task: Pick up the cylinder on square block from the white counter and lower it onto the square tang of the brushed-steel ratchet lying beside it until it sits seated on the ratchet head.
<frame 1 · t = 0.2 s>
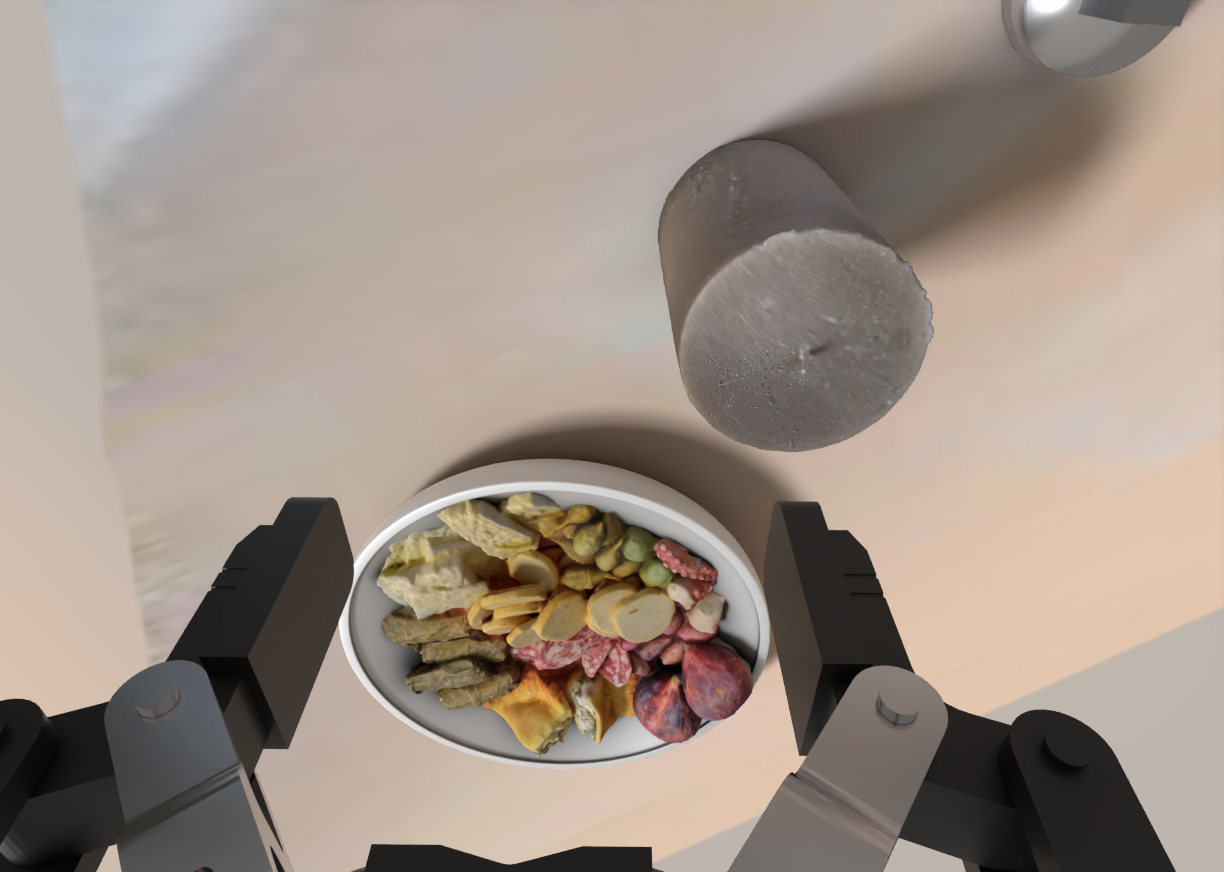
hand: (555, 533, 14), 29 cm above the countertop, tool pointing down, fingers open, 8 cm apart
pillar candle: (750, 228, 40), on the countertop
bowl: (560, 594, 56), on the countertop
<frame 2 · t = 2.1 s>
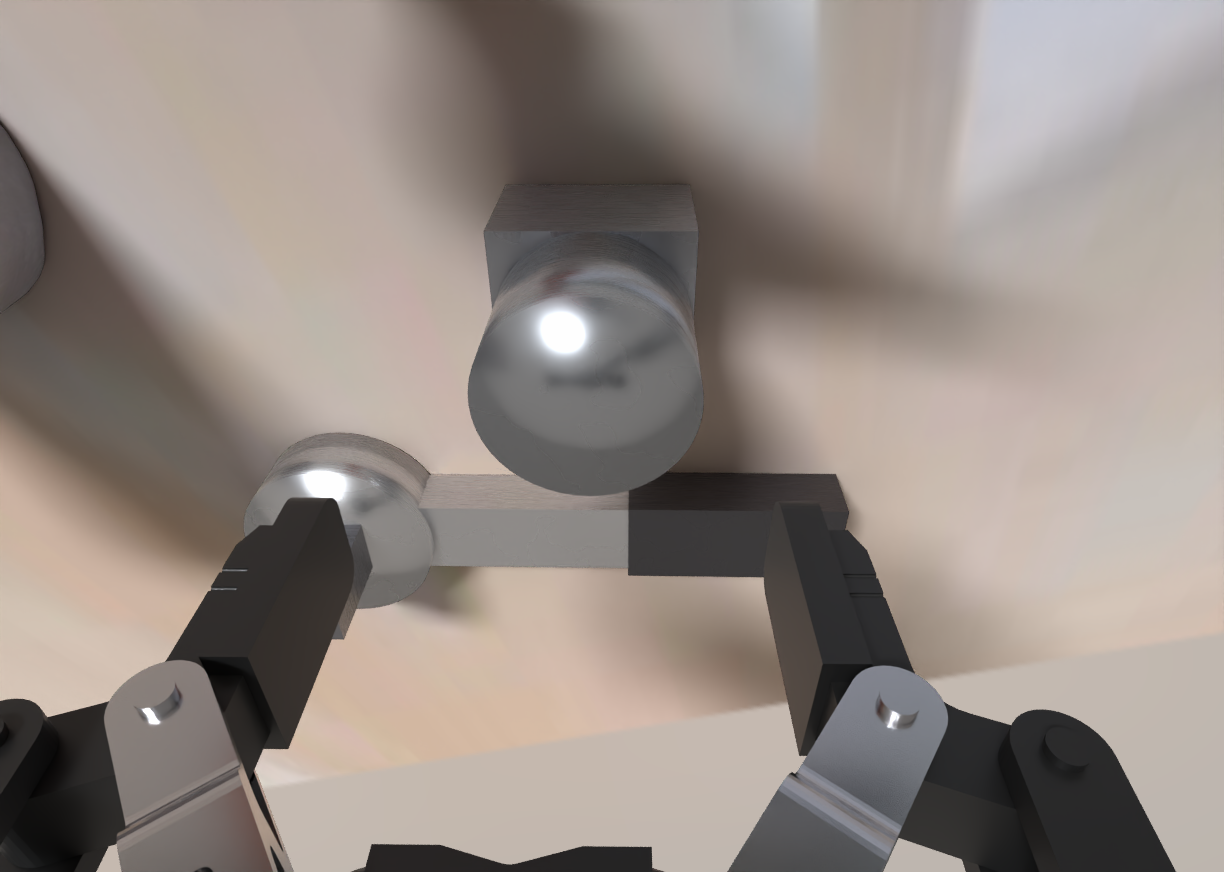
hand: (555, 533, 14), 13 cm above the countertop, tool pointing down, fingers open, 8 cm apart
cylinder on square block: (599, 271, 24), on the countertop
ratchet: (358, 503, 30), on the countertop
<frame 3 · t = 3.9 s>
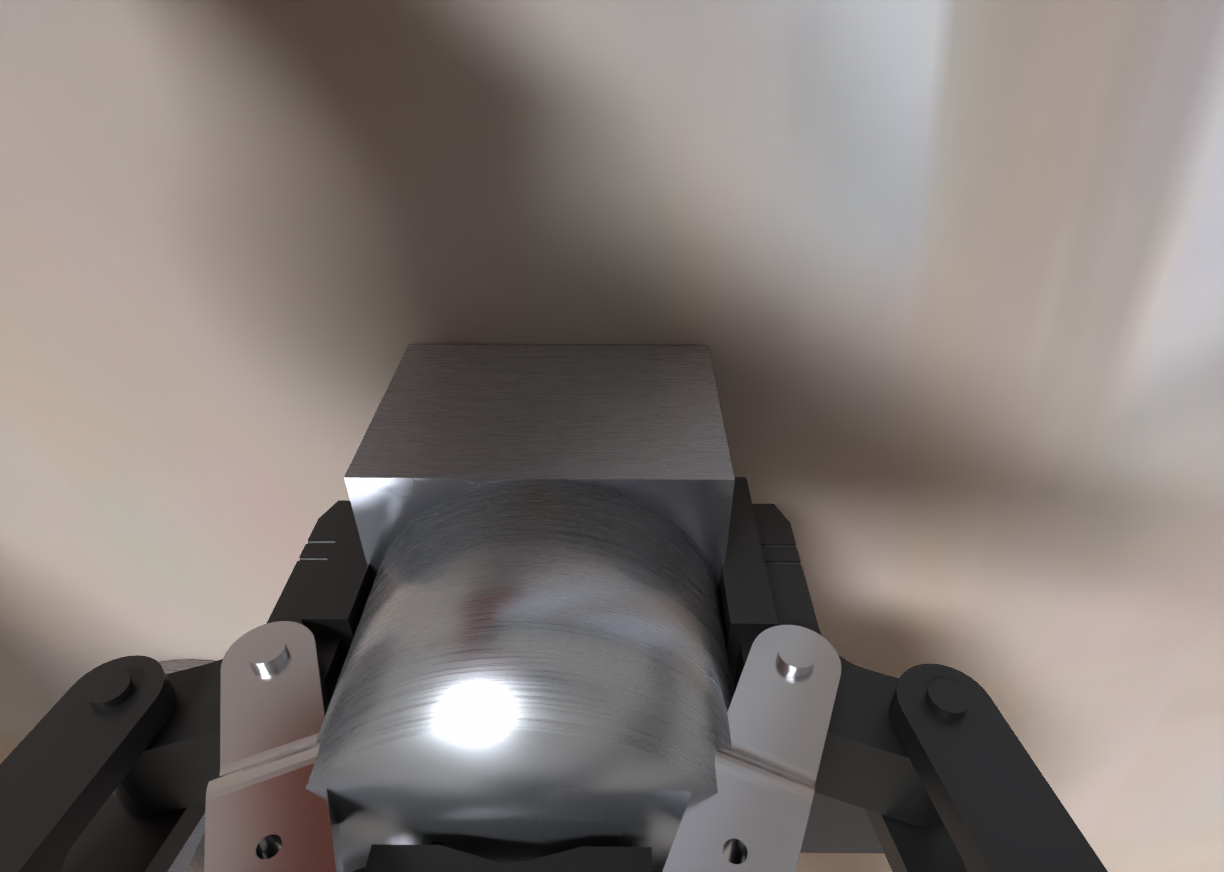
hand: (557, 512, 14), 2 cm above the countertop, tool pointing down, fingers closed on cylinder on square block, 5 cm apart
cylinder on square block: (564, 463, 16), on the countertop, touching gripper
ratchet: (229, 737, 21), on the countertop
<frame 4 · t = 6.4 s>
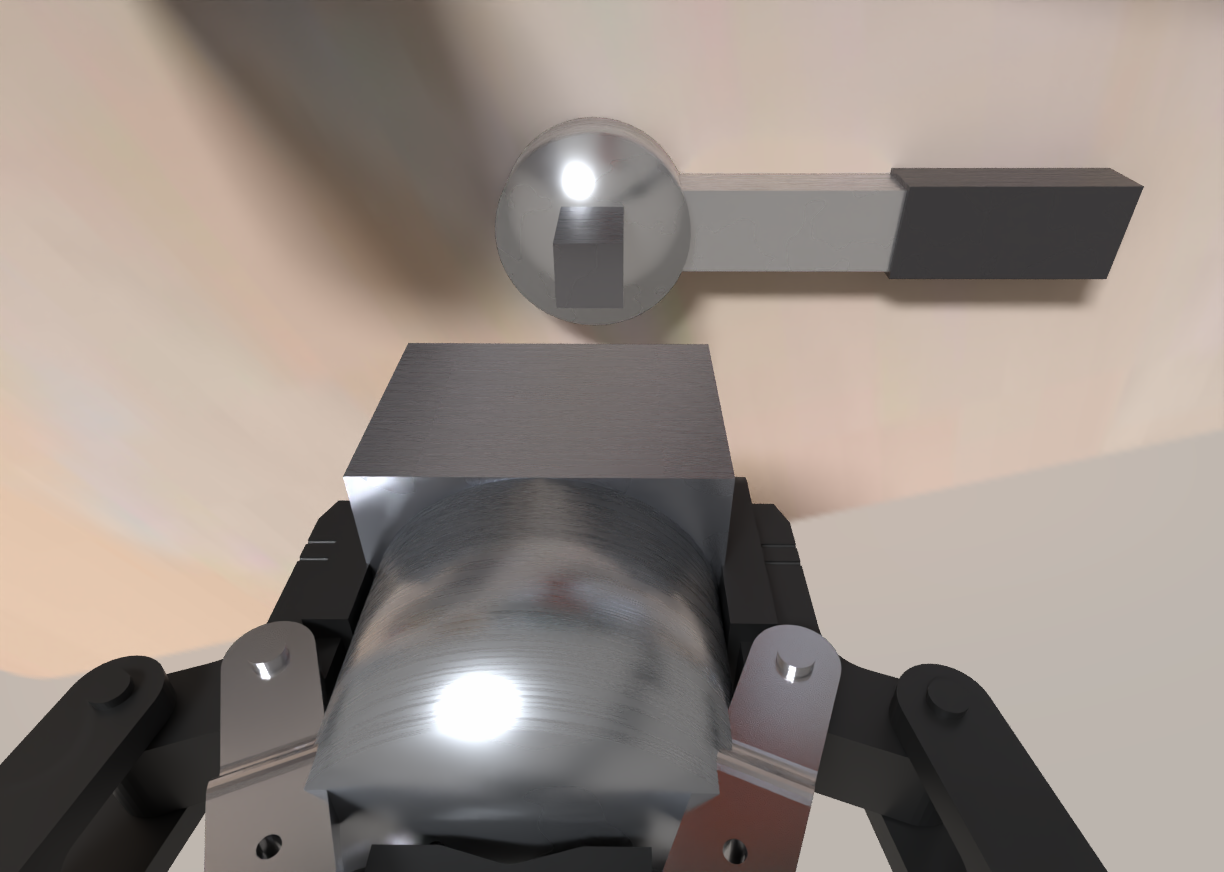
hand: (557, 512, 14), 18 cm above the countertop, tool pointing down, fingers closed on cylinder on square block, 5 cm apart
cylinder on square block: (563, 463, 15), point 16 cm above the countertop, touching gripper
ratchet: (595, 213, 29), on the countertop
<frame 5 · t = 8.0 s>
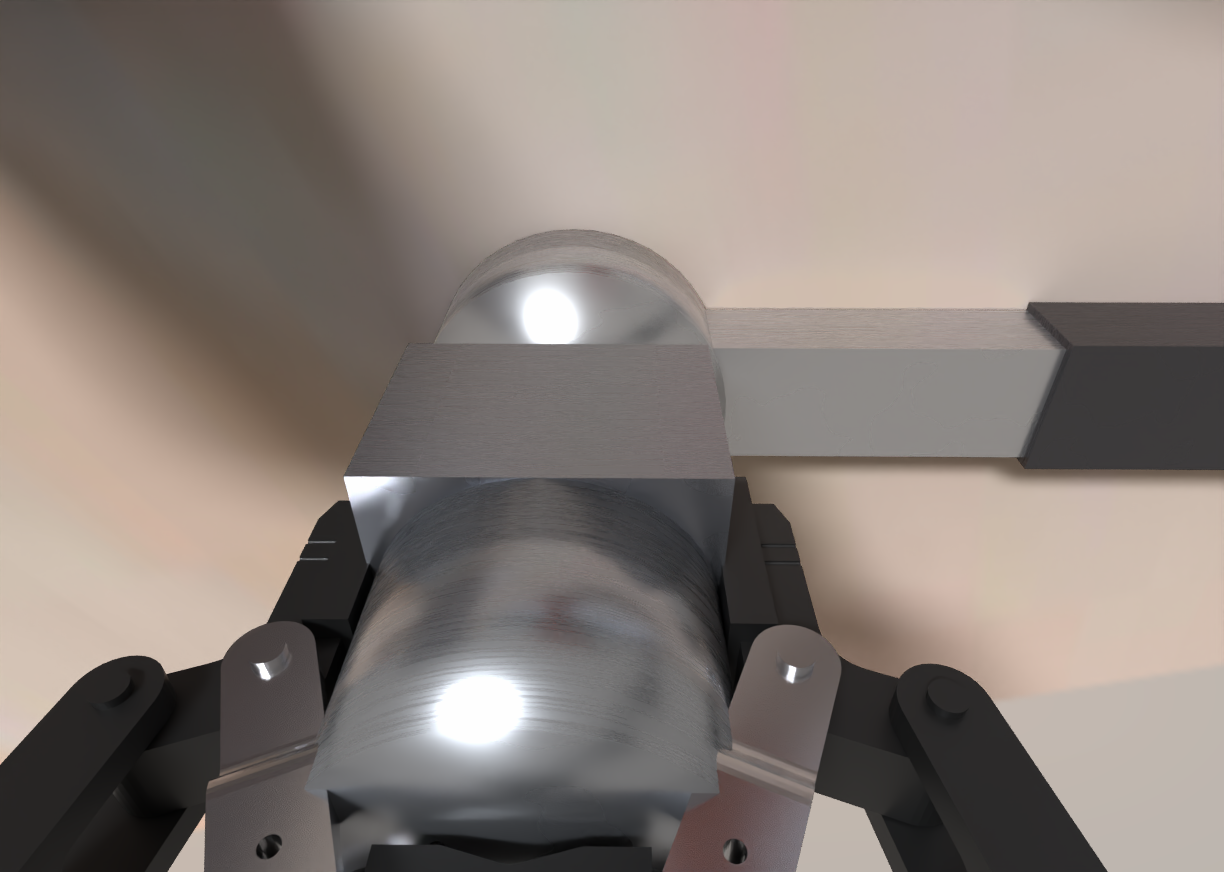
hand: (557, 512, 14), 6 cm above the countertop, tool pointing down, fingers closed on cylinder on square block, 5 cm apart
cylinder on square block: (563, 463, 15), point 4 cm above the countertop, touching gripper
ratchet: (578, 361, 19), on the countertop
when the fingers open (5 cm above the countertop, at t = 9.0 s): cylinder on square block stays where it is, resting on ratchet.
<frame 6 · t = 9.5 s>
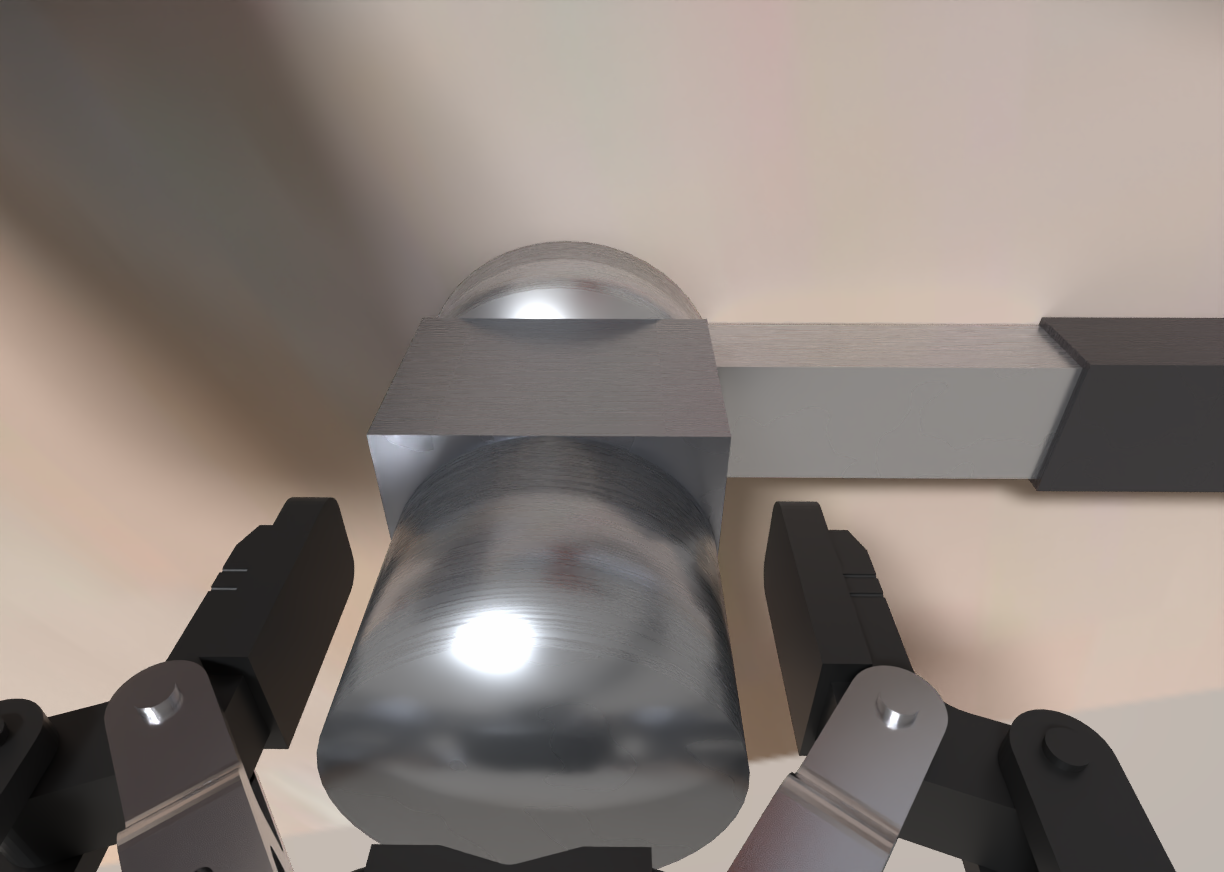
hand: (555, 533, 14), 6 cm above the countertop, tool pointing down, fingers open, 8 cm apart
cylinder on square block: (569, 434, 16), point 2 cm above the countertop, touching ratchet
ratchet: (571, 378, 18), on the countertop
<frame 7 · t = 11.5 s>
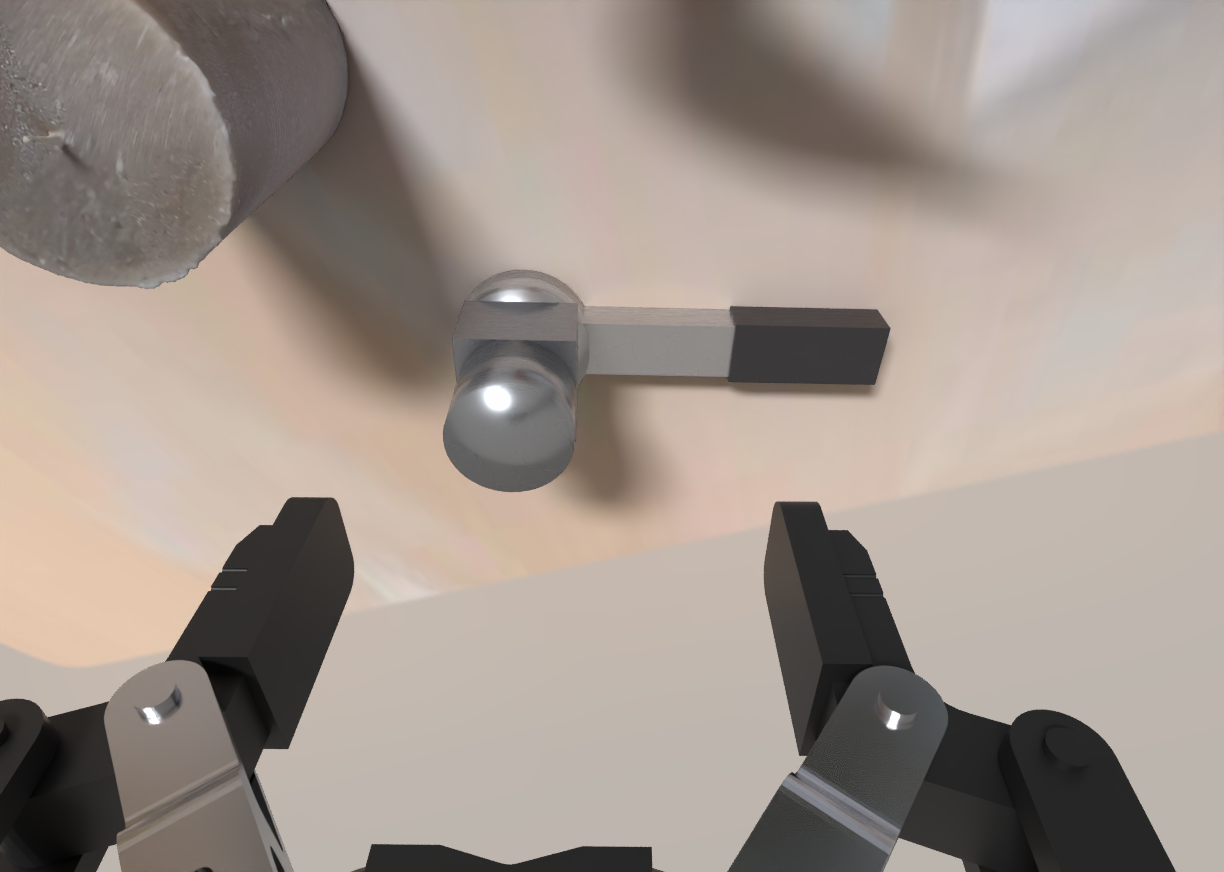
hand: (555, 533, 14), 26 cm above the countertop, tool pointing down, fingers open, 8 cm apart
pillar candle: (244, 58, 33), on the countertop
cylinder on square block: (523, 351, 38), point 2 cm above the countertop, touching ratchet
ratchet: (525, 330, 41), on the countertop
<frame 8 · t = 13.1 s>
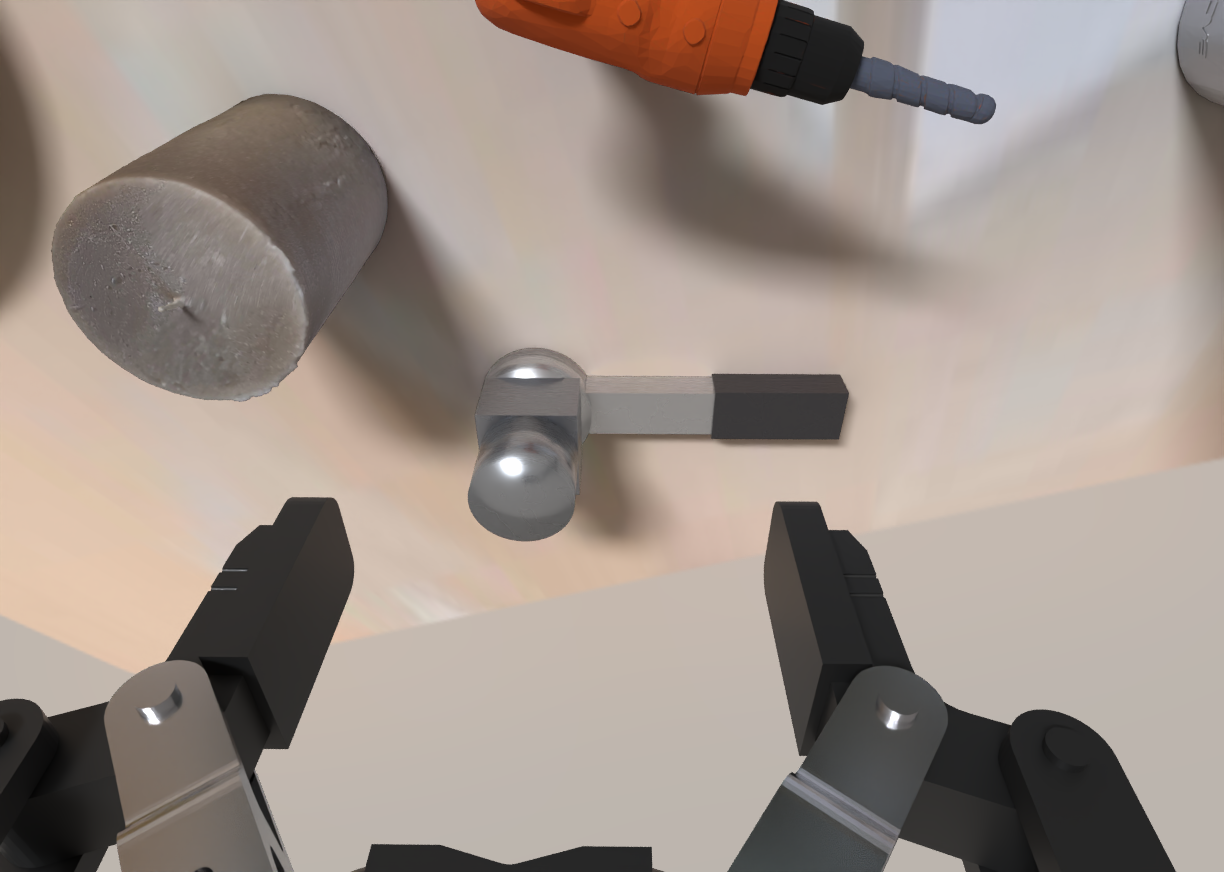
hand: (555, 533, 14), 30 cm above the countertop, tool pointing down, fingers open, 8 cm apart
pillar candle: (304, 190, 40), on the countertop
cylinder on square block: (535, 417, 46), point 2 cm above the countertop, touching ratchet
ratchet: (538, 396, 48), on the countertop
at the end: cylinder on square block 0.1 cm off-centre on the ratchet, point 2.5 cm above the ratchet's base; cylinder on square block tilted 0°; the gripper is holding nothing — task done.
